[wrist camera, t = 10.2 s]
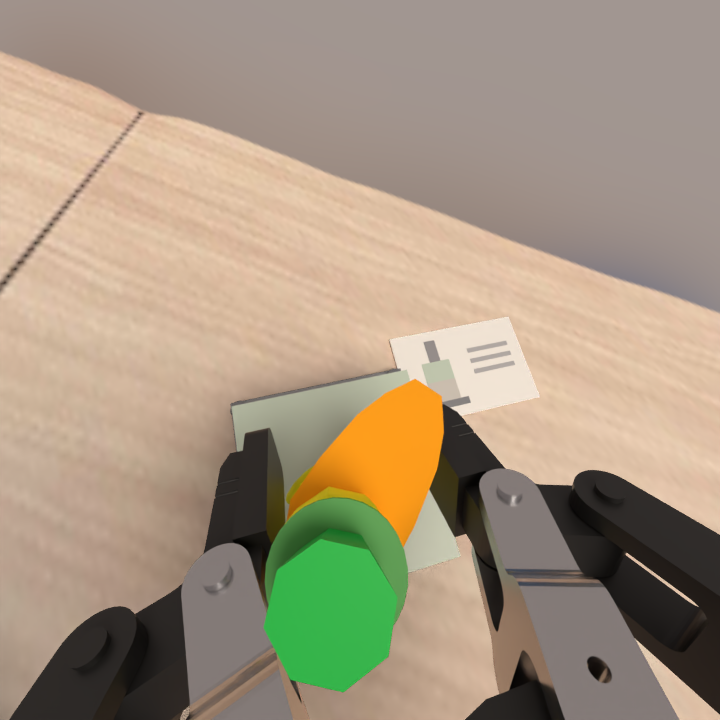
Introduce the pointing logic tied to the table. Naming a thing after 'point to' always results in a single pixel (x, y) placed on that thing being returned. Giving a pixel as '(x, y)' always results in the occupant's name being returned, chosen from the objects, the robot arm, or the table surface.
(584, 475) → the robot arm
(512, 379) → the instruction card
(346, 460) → the toy figure
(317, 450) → the cube on base plate
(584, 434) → the table surface
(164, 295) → the table surface
